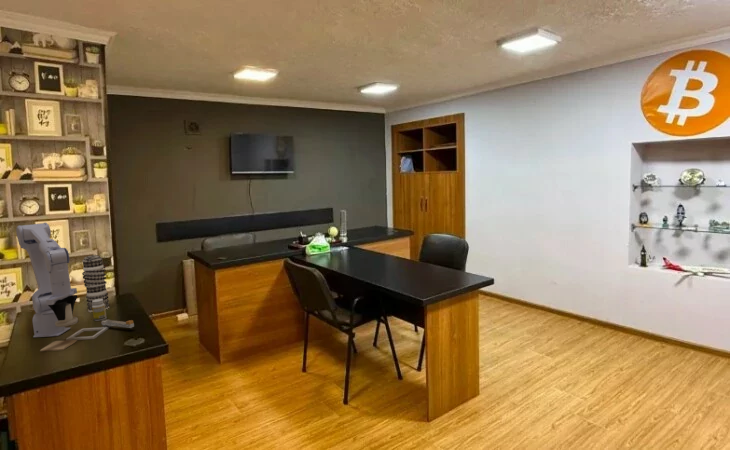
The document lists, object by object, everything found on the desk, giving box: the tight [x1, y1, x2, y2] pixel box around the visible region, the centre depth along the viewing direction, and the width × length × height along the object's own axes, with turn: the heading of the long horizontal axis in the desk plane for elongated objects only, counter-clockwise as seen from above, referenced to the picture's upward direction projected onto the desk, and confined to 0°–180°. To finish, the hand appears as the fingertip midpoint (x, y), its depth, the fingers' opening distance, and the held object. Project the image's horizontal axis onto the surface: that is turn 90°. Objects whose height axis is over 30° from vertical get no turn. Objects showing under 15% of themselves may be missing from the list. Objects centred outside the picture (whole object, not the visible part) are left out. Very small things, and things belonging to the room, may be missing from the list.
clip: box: [100, 318, 135, 329], centre depth 169 cm, size 3×16×2 cm, turn 69°
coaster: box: [39, 339, 78, 352], centre depth 154 cm, size 8×8×1 cm
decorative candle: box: [81, 254, 110, 313], centre depth 194 cm, size 9×9×25 cm
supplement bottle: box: [92, 299, 108, 322], centre depth 181 cm, size 5×5×8 cm
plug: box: [55, 303, 79, 328], centre depth 156 cm, size 7×7×7 cm
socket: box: [65, 326, 109, 341], centre depth 164 cm, size 10×10×1 cm
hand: (65, 317), depth 156 cm, fingers closed on plug, 4 cm apart
